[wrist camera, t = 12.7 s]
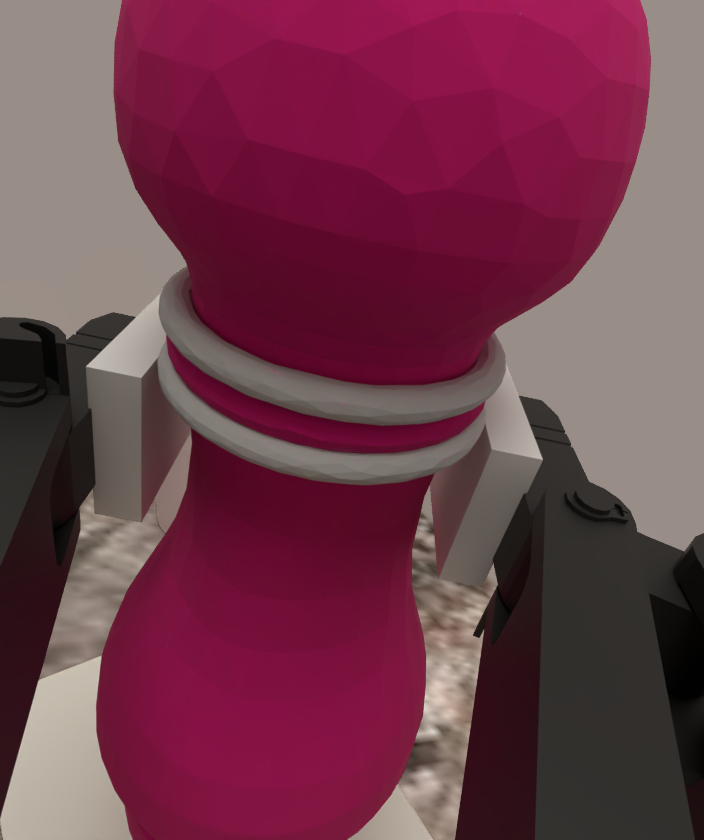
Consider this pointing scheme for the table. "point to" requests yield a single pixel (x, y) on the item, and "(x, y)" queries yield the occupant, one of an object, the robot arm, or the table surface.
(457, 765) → the table surface
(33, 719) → the cutting board
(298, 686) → the pepper mill
